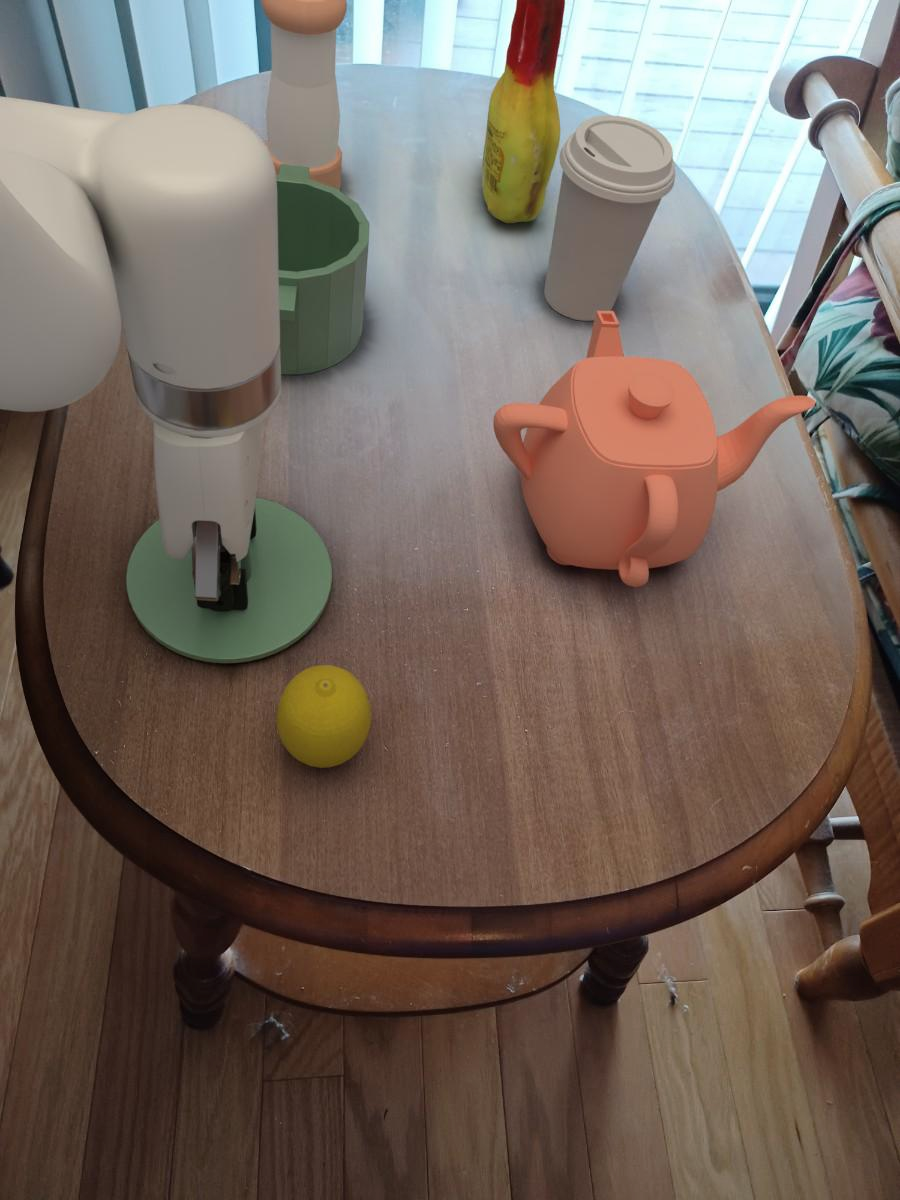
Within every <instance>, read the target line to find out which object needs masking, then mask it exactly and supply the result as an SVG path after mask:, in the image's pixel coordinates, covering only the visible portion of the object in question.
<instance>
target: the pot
mask: <svg viewBox="0 0 900 1200" xmlns="http://www.w3.org/2000/svg"><path fill="white" fill-rule="evenodd" d="M276 182H277V210H278V271H279V311H280V356H281V375H290V376H291V375H305V374H313V373H316V372H321V371H324V370H327V369H329V368H331V367H333V366H336V365H338V364H339V363H341V362H343V361H344V360H345V359H347V357H349V356H350V355H351V354H352V353H353V352H354V350H355V349H356V348H357V346H358V344H359V343H360V340H361V337H362V335H363V328H364V313H365V299H366V286H367V285H366V284H367V272H368V257H369V245H370V244H369V243H370V222H369V220H368V218H367V216H366V215H365V213H364V211H363V210H362V208H361V206H360V205H359V203H358V202H356V201H355V200H354V199H352V198H351V197H350V196H348V195H347V194H345V193H344V192H343V191H341V189H340V190H338V189H336V188H334V187H331V186H328V185H325V184H322V183H320V182H317V181H314V180H311V179H309V167H305V166H296V165H286V164H280V169H279V175H276Z"/></svg>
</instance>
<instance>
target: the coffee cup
mask: <svg viewBox="0 0 900 1200" xmlns="http://www.w3.org/2000/svg"><path fill="white" fill-rule="evenodd" d="M673 156H674V152H673V147H672V145H671V142H670V141H669V140H668V139H667V137H666V136H664V134H663V133H662V132H661V131H659V130H657V129H656V128H654V127H653V126H651V125H649V124H647V123H645V122H642V121H640V120H637V119H635V118H631V117H626V116H620V115H610V114H609V115H597V116H593V117H590V118H587V119H586V120H584V121H582V122H581V123H580V124H578V127H577V128H576V130H575V131H574V132H573V133H572V134H570V136H569V137H568V138H567V140H566V141H565V142H564V144H563V146H562V147H561V150H560V152H559V156H558V157H559V159H558V160H559V164H560V167H561V169H562V172H561V173H562V174H561V180H560V186H559V192H558V193H559V194H558V200H557V201H558V202H557V206H556V213H555V220H554V226H553V233H552V239H551V245H550V252H549V258H548V263H547V264H548V265H547V271H546V276H545V281H544V282H545V283H544V290H543V292H544V293H543V294H544V298H545V301H546V302H547V304H548V305H549V307H551V308H552V309H553V310H554V311H556V312H557V313H558V314H560V315H562V316H564V317H565V318H569V319H571V320H576V321H583V322H591V321H594V320H595V315H596V311H612V309H613V307H614V305H615V303H616V301H617V298H618V297H619V294H620V291H621V289H622V287H623V285H624V283H625V280H626V278H627V276H628V274H629V271H630V270H631V267H632V265H633V262H634V261H635V258H636V257H637V254H638V252H639V250H640V247H641V245H642V243H643V241H644V239H645V236H646V234H647V231H648V230H649V227H650V225H651V222H652V220H653V219H654V217H655V214H656V212H657V210H658V207H659V205H660V203H661V201H662V199H663V198H664V197H665V196H667V195H668V194H669V193H670V192H671V191H672V190H673V188H674V185H675V181H676V180H675V179H676V165H675V162H674V157H673Z"/></svg>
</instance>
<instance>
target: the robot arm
mask: <svg viewBox="0 0 900 1200" xmlns="http://www.w3.org/2000/svg"><path fill="white" fill-rule="evenodd" d="M122 329H123V334H124V339H125V344H126V345H125V346H126V351H127V355H128V361H129V366H130V371H131V376H132V382H133V386H134V391H135V397H136V400H137V402H138V404H139V407H140V408H141V409H142V411H143V412H144V414H146V416H148V417H149V418H150V419H151V420H152V421H153V431H152V432H153V433H152V434H153V436H152V437H153V439H152V442H153V445H152V446H153V465H154V480H155V488H156V490H155V491H156V498H157V499H156V500H157V508H158V515H159V516H158V517H159V519H160V525H161V534H162V541H163V548H164V551H165V552H166V554H167V555H168V556H169V557H170V558H176V559H184V558H185V557H186V555H187V554H188V552H189V550H190V548H191V550H192V566H193V571H192V574H193V581H194V587H195V598H196V600H197V605H198V606H199V607H200V608H207V609H211V610H213V611H218V612H228V611H231V610H246V609H247V607H248V592H247V579H246V569H243V568H241V559H243V558H244V557H245V556H246V555H247V552H248V547H249V541H250V539H253V538H254V537H255V536H256V530H257V529H256V512H255V503H256V497H257V496H258V488H259V487H258V486H259V479H260V469H261V458H262V440H263V439H262V438H263V437H262V436H263V435H262V434H263V433H262V429H263V428H262V425H263V424H262V422H263V421H264V420H266V418H268V417H269V416H270V415H271V413H272V412H273V411H274V409H275V408H276V407H277V405H278V403H279V399H280V397H281V393H282V374H281V356H280V311H279V271H278V210H277V182H276V172H275V167H274V163H273V160H272V158H271V155H270V153H269V151H268V148H267V147H266V145H265V142H264V141H263V139H262V138H261V137H260V136H259V134H258V133H257V132H256V131H254V129H253V128H252V127H250V126H249V125H248V124H247V123H245V122H243V121H241V120H240V119H238V118H236V117H234V116H233V115H231V114H228V113H226V112H225V111H221V110H219V109H215V108H212V107H209V106H203V105H198V104H189V103H169V104H159V105H153V106H148V107H145V108H141V109H138V110H136V111H133V112H131V113H122V112H113V111H103V110H96V109H95V110H94V109H89V108H82V107H75V106H69V105H68V106H67V105H63V104H55V103H54V104H53V103H50V102H43V101H36V100H30V99H24V98H17V97H8V96H1V95H0V410H2V411H3V410H4V411H13V412H22V413H35V412H47V411H53V410H57V409H61V408H63V407H66V406H68V405H71V404H73V403H76V402H78V401H80V400H81V399H83V398H85V396H88V394H90V393H92V392H93V391H94V390H95V389H96V388H97V387H98V386H99V385H100V384H101V383H102V382H103V381H104V380H105V378H106V377H107V375H108V373H109V372H110V370H111V368H112V367H113V365H114V363H115V361H116V358H117V355H118V351H119V348H120V344H121V334H122V333H121V332H122ZM220 553H229V556H230V563H220Z"/></svg>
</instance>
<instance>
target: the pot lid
mask: <svg viewBox="0 0 900 1200" xmlns="http://www.w3.org/2000/svg"><path fill="white" fill-rule="evenodd" d="M255 512H256V529H257V530H256V536H255V537H254V538H253V539H250V541H249V547H248V552H247V555H246V556H245V557H244V558H243V559H241V568H243V569H246V579H247V592H248V607H247V609H246V610H231V611H228V612H218V611H213V610H211V609H207V608H200V607H199V606H198V605H197V600H196V598H195V587H194V581H193V574H192V571H193V566H192V550H191V548H190V550H189V552H188V554H187V555H186V557H185V558H184V559H176V558H170V557H169V556H168V555H167V554H166V552H165V551H164V548H163V541H162V534H161V525H160V518H158V519H157V520H156V521H155V522H153V524H151V525H150V526H149V527H148V529H146V531H144V533H143V534H142V535H141V536H140V538H139V540H137V543H136V544H135V546H134V548H133V550H132V552H131V554H130V556H129V559H128V563H127V568H126V576H125V582H126V584H125V585H126V592H127V596H128V601H129V605H130V607H131V609H132V611H133V615H134V616H135V617H136V619H137V621H138V623H139V625H140V626H142V627H143V629H144V631H145V632H147V634H148V635H150V637H152V638H153V639H154V640H155V641H156V642H158V643H159V644H160V645H162V646H164V647H165V648H166V649H168V650H171V651H172V652H174V653H176V654H178V655H180V656H182V657H186V658H189V659H192V660H197V661H200V662H201V661H202V662H206V663H215V664H238V663H246V662H252V661H256V660H261V659H264V658H267V657H270V656H271V655H276V654H277V653H279V652H281V651H283V650H285V649H287V648H289V647H290V646H292V645H293V644H295V643H296V642H299V640H300V639H301V638H303V637H304V636H305V635H306V634H307V633H309V631H310V630H311V629H312V628H313V627H314V626H315V625H316V624H317V622H318V621H319V619H320V618H321V616H322V615H323V613H324V611H325V610H326V609H325V608H326V607H327V605H328V602H329V599H330V595H331V592H332V584H333V567H332V562H331V557H330V554H329V551H328V548H327V546H326V544H325V543H324V541H323V539H322V537H321V536H320V534H319V533H318V532H317V530H316V529H315V528H314V527H313V526H312V525H311V524H310V523H309V522H308V521H307V520H306V519H305V518H303V517H302V516H301V515H299V514H298V513H297V512H295V511H293V510H292V509H290V508H288V507H286V506H284V505H283V504H280V503H278V502H274V501H271V500H268V499H265V498H262V497H257V496H256V503H255ZM220 563H230V556H229V553H220Z"/></svg>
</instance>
